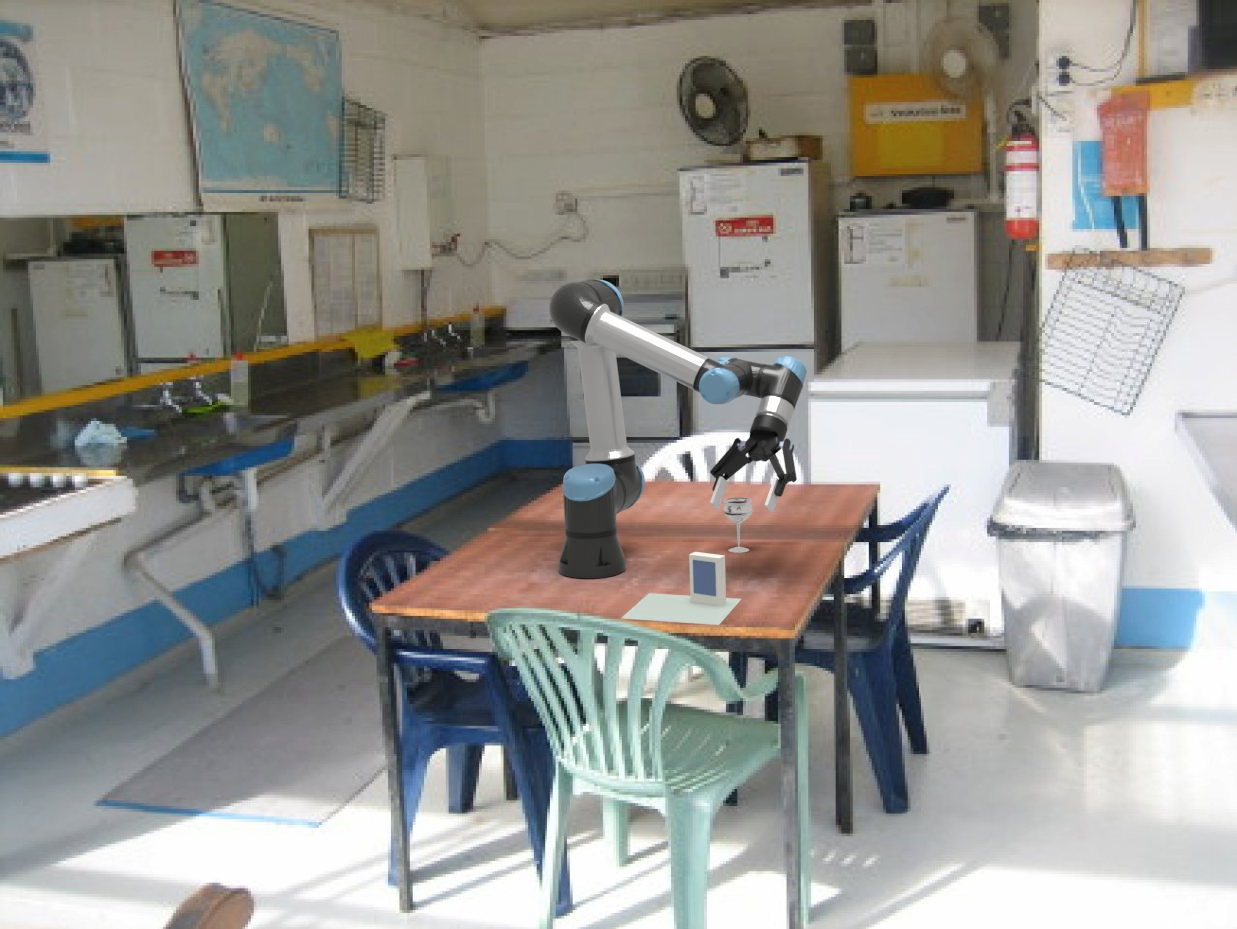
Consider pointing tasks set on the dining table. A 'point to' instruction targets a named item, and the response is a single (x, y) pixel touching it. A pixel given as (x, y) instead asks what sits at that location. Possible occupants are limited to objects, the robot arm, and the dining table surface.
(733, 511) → the wineglass
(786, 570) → the dining table surface
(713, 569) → the box
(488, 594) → the dining table surface
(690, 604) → the mat
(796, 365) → the robot arm
